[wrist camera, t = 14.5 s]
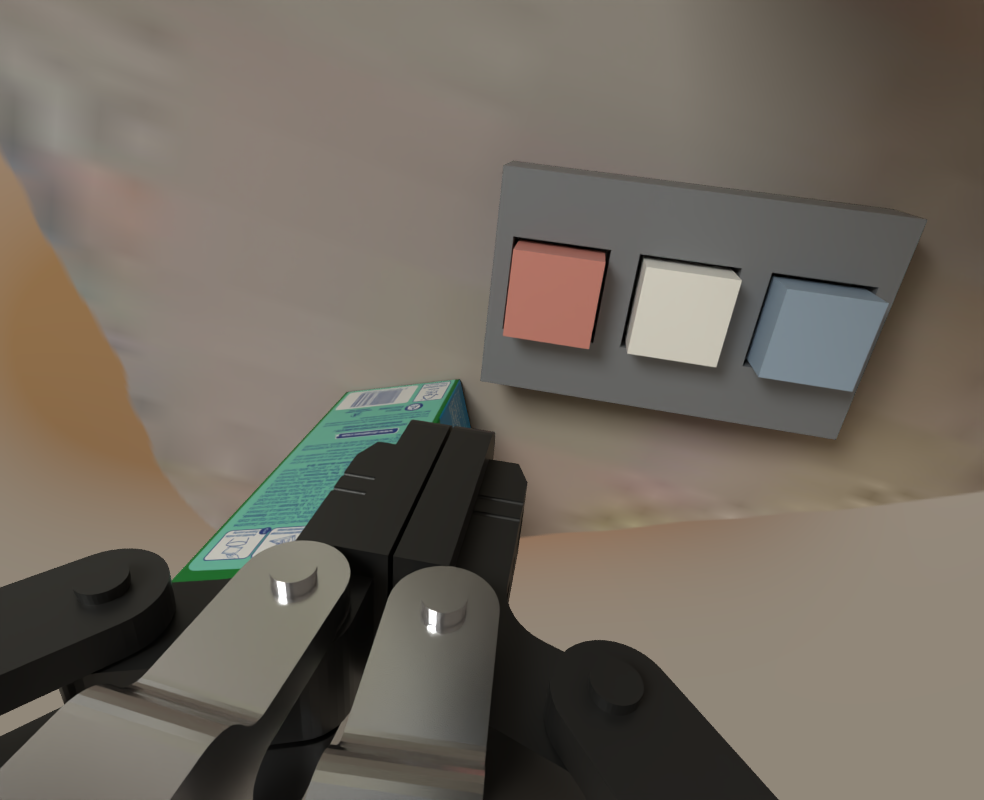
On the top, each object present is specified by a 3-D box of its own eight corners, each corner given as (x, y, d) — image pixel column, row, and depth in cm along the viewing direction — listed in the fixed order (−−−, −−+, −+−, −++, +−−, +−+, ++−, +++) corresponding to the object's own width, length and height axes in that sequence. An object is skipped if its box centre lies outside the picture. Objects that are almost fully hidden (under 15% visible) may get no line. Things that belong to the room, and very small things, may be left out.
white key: (642, 255, 34) (646, 266, 32) (730, 267, 34) (741, 280, 31) (625, 336, 37) (627, 353, 34) (707, 349, 36) (716, 367, 34)
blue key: (772, 275, 33) (787, 288, 31) (865, 288, 33) (888, 303, 30) (746, 357, 36) (758, 377, 33) (832, 371, 35) (852, 391, 32)
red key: (519, 239, 35) (513, 249, 32) (604, 251, 34) (605, 262, 32) (509, 320, 37) (502, 335, 34) (589, 332, 37) (588, 349, 34)
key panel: (513, 160, 36) (503, 165, 32) (892, 209, 34) (927, 219, 30) (490, 358, 42) (480, 381, 38) (814, 410, 40) (835, 439, 36)
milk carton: (484, 484, 46) (378, 823, 24) (376, 492, 48) (186, 811, 26) (460, 378, 43) (310, 659, 20) (345, 391, 45) (94, 660, 22)
